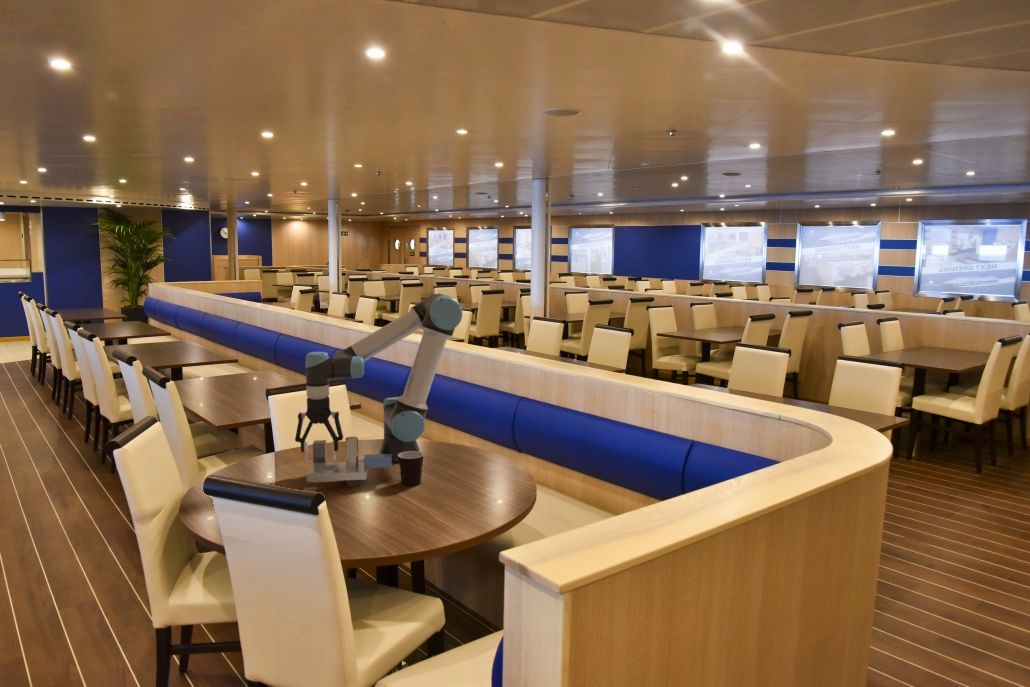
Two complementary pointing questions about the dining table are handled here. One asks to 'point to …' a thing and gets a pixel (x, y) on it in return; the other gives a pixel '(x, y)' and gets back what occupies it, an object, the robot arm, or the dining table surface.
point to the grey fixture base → (348, 466)
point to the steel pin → (319, 451)
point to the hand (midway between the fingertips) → (320, 460)
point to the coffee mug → (411, 467)
